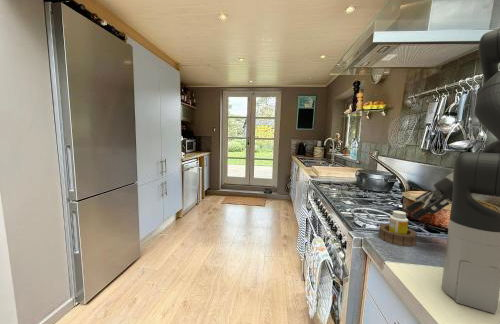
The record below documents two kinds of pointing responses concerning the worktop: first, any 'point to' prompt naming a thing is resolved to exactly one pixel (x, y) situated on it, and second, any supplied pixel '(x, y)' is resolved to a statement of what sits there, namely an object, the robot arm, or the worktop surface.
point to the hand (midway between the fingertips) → (410, 213)
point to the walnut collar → (397, 236)
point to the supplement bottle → (398, 223)
